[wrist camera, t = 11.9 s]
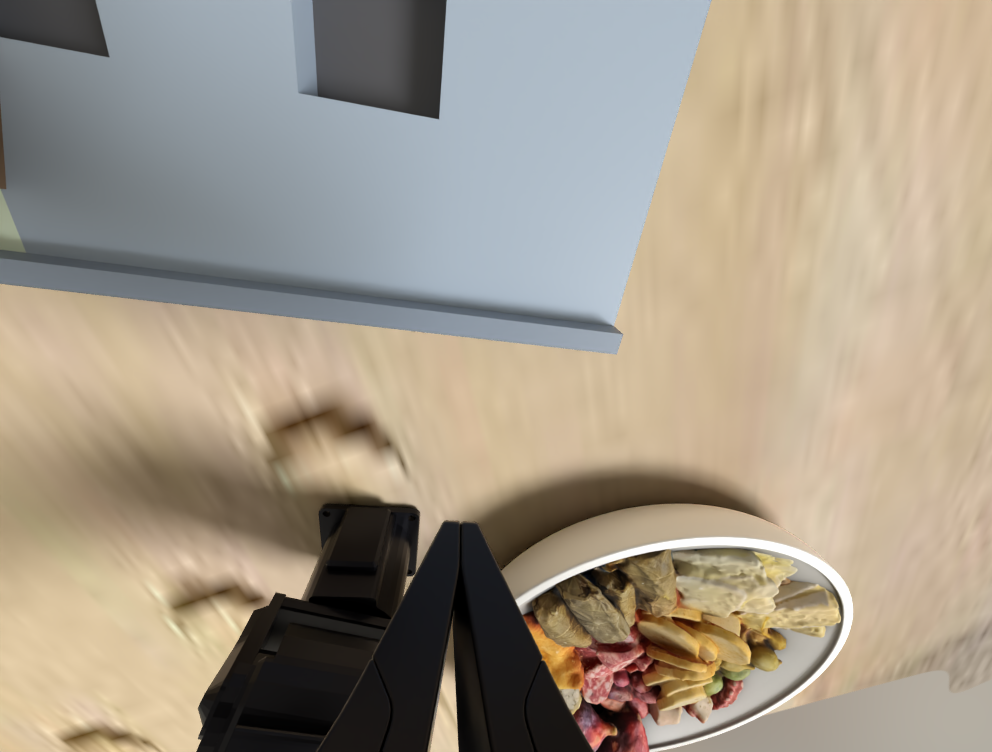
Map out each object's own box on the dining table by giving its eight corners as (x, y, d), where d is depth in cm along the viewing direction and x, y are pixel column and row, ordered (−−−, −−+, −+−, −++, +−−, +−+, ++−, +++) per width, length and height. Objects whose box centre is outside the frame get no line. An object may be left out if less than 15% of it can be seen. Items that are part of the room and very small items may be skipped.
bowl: (460, 479, 24) (456, 594, 17) (864, 477, 27) (1006, 577, 20) (456, 701, 37) (453, 818, 30) (727, 686, 40) (783, 790, 33)
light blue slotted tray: (595, 332, 20) (619, 357, 16) (-97, 247, 16) (-242, 259, 13) (691, -14, 14) (760, -80, 10) (-386, -289, 10) (-807, -529, 7)
